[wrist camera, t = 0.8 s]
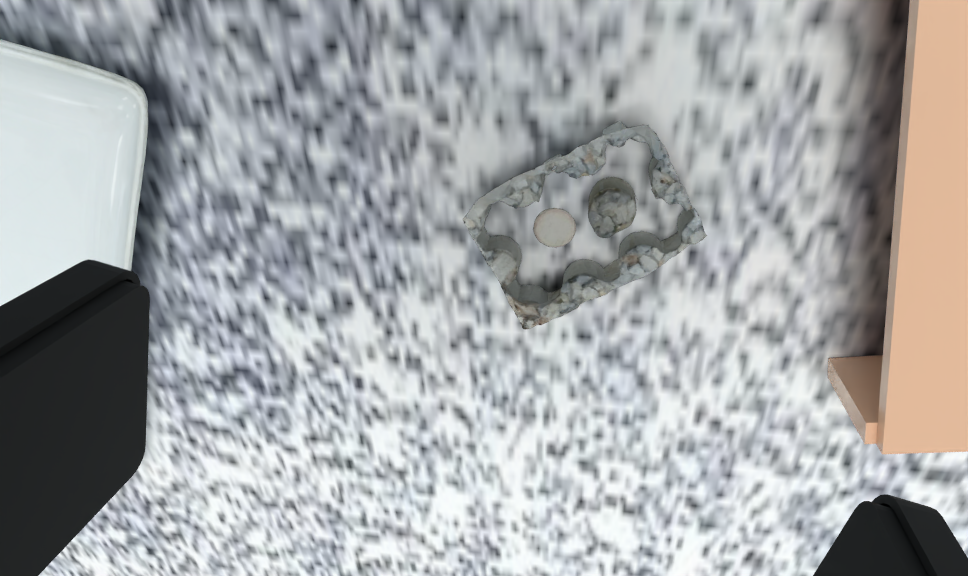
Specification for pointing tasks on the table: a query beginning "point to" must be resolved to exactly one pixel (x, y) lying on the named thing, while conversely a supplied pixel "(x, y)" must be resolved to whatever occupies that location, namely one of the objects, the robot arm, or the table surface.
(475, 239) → the egg carton
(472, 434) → the table surface
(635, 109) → the table surface
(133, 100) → the square plate
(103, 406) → the robot arm
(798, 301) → the table surface
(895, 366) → the shelf
